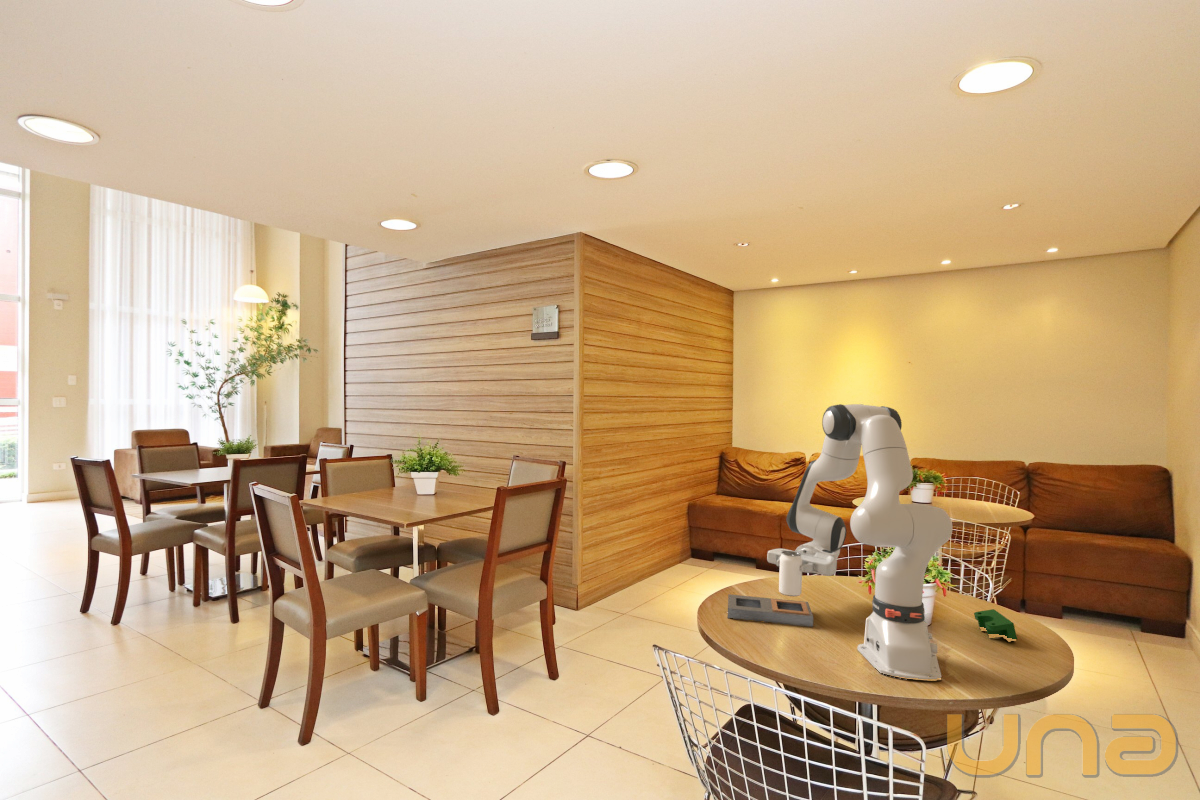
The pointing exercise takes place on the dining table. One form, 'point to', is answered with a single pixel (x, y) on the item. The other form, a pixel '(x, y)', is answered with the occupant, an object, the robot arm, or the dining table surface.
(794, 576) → the can
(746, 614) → the grey tray
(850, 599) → the dining table surface
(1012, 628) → the clamp
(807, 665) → the dining table surface
